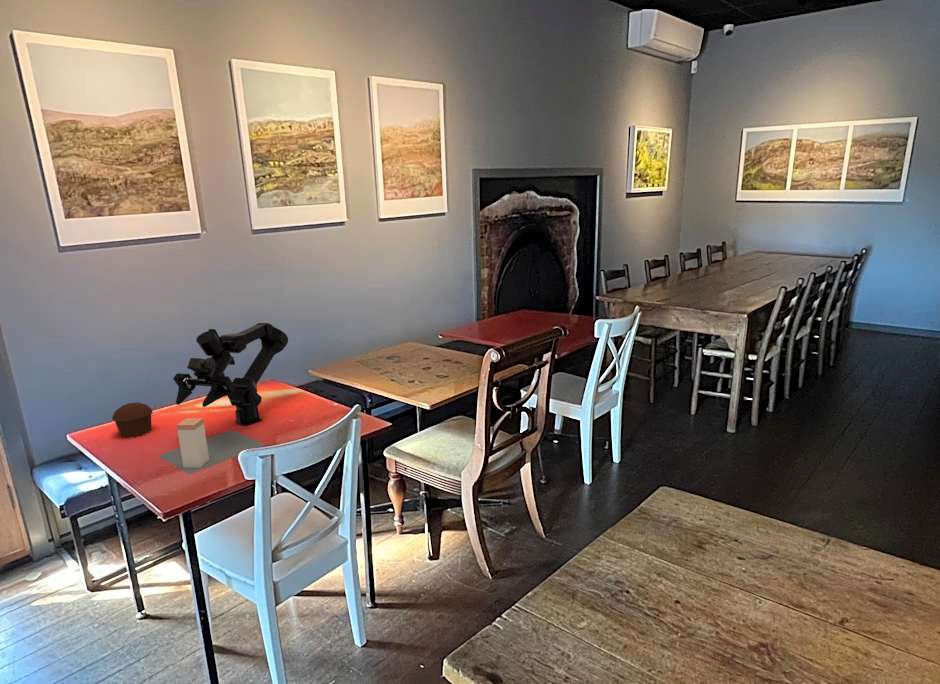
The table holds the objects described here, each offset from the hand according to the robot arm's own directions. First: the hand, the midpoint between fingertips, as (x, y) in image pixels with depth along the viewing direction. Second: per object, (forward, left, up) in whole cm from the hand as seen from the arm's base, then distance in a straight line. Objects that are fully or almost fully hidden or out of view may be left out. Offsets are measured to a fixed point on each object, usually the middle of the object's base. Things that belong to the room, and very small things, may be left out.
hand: (190, 405), depth 172 cm
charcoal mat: (-3, +3, -15) cm, 16 cm away
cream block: (+4, +8, -15) cm, 17 cm away
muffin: (+5, -32, -16) cm, 36 cm away
